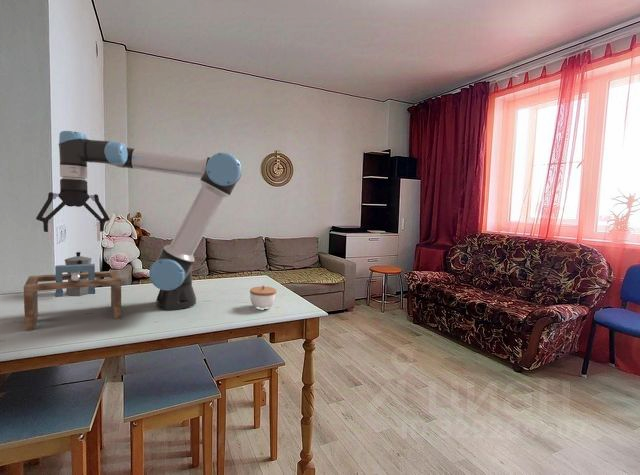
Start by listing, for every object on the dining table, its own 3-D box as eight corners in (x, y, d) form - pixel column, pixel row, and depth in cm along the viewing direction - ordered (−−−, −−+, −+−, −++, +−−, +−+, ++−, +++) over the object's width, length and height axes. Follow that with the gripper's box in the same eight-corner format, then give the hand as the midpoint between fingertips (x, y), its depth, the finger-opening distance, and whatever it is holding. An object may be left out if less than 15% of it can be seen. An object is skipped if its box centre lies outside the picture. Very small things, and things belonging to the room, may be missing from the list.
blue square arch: (94, 290, 125) (94, 263, 124) (95, 293, 121) (95, 265, 120) (55, 293, 118) (55, 265, 117) (55, 297, 114) (54, 267, 113)
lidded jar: (280, 308, 142) (281, 286, 141) (260, 313, 134) (260, 290, 133) (264, 302, 149) (265, 281, 148) (244, 307, 141) (244, 284, 140)
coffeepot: (64, 290, 150) (63, 250, 148) (90, 288, 156) (89, 249, 154) (66, 299, 138) (65, 255, 136) (94, 296, 144) (93, 254, 142)
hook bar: (79, 273, 126) (79, 266, 125) (80, 282, 113) (79, 275, 113) (71, 273, 124) (71, 267, 124) (71, 283, 112) (71, 275, 112)
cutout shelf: (117, 305, 134) (116, 270, 133) (121, 318, 121) (121, 279, 120) (30, 315, 119) (29, 276, 118) (25, 330, 106) (23, 286, 105)
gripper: (23, 175, 105) (26, 243, 107) (117, 181, 120) (118, 241, 122) (26, 176, 111) (28, 240, 113) (115, 182, 126) (116, 239, 128)
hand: (75, 241), depth 118 cm, fingers open, 13 cm apart
